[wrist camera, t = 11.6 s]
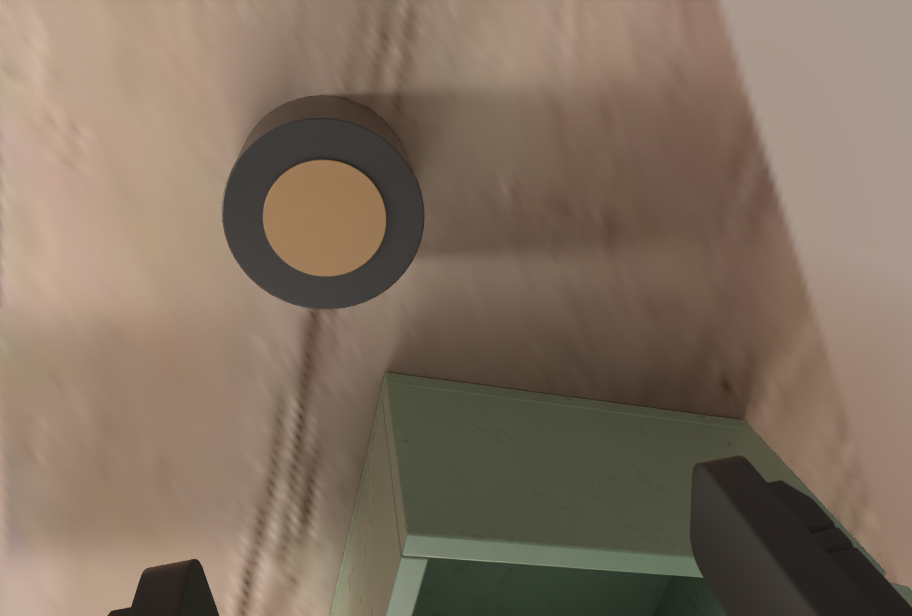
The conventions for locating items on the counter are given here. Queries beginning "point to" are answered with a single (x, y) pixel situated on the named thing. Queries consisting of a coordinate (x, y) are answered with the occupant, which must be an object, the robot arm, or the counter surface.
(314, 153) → the tape
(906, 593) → the lid
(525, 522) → the bin
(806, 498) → the robot arm
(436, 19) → the counter surface
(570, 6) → the counter surface
